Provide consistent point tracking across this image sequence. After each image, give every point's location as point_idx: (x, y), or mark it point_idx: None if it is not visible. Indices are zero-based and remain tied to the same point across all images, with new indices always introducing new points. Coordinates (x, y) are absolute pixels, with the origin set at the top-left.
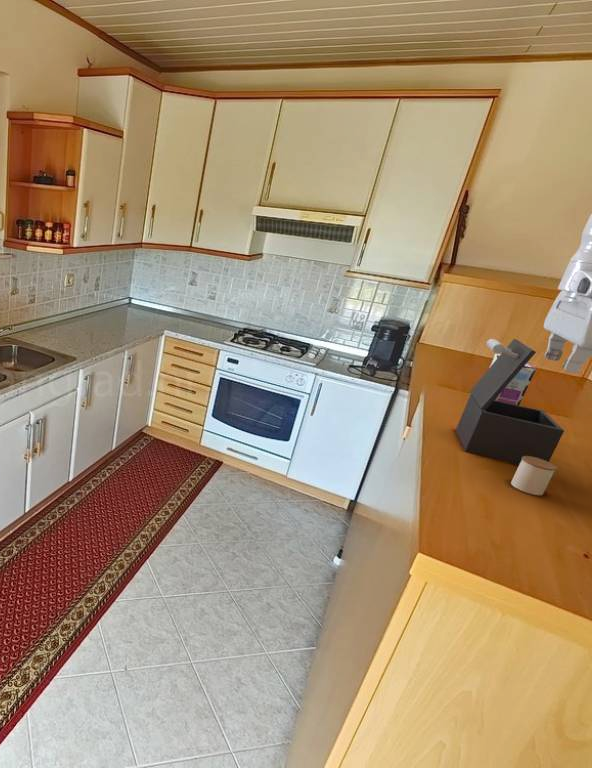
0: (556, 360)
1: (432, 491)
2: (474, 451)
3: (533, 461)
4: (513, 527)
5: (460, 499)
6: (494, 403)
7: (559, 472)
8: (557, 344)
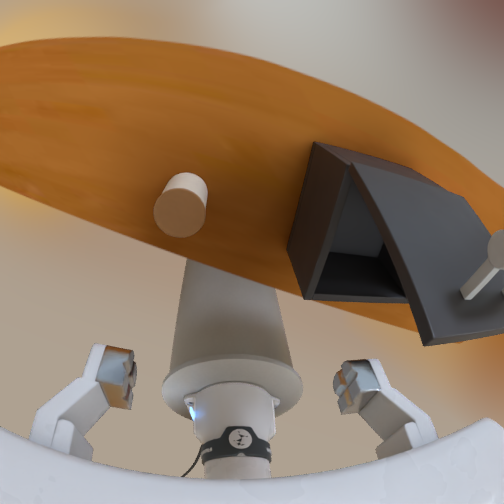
0: (335, 377)
1: (75, 44)
2: (311, 155)
3: (175, 204)
4: (36, 136)
5: (72, 79)
6: None
7: None
8: (383, 420)
